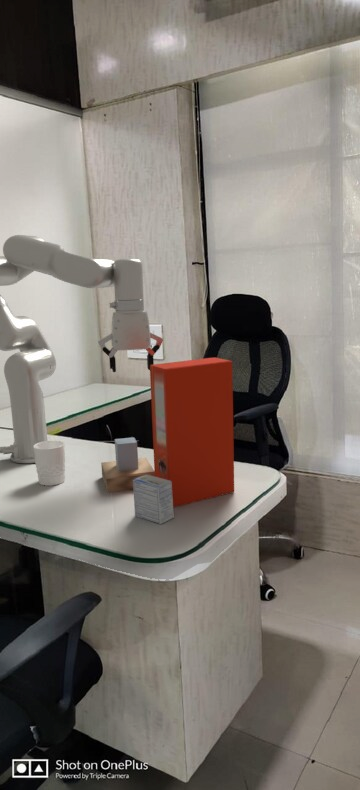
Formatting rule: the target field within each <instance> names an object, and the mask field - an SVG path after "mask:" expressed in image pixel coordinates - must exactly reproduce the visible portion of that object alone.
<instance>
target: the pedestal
mask: <svg viewBox="0 0 360 790" xmlns="http://www.w3.org/2000/svg"><path fill="white" fill-rule="evenodd" d="M100 465H101V477H102V480H103V481H102V482H103V483H104V485H105V489H106V492H107V493H114V492H122V491H123V492H124V491H129V490H130V491H131V490H133V480H134V479H136V478H138V477H141V476H144V475H150V476H154V477H155V471H154V467H152V465H151V463H150V462H149V460H148V458H147V457H141V458H138V468H139V469H134V470H125V471H119V470H118V468H117V466H116V460H115V461H113V460H112V461H104V462H103V461H102V462H101V463H100Z"/></svg>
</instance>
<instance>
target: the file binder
mask: <svg viewBox="0 0 360 790" xmlns="http://www.w3.org/2000/svg"><path fill="white" fill-rule="evenodd" d="M149 376H150V377H149V378H150V398H151V399H150V401H151V422H152V423H151V424H152V445H153V449H152V450H153V464H154V465H153V470H154V471H155V477H158V478H162V479H166V480H170V481H171V482H172V497H173V508H175V507H176V508H177V507H179V506H183V505H187V504H191V503H196V502H200V501H203V500H208V499H212V498H213V499H214V498H216V496H217V497H220V496H219V495H221V496H223V495H222V494H225V495H227V494H226V493H229V494H231V493H230V492H233V493H235V462H234V461H235V460H234V459H235V458H234V457H235V453H234V451H235V450H234V448H235V447H234V443H235V441H234V392H233V390H234V389H233V388H234V387H233V361H232V360H229V359H224V358H219V357H205V358H198V359H189V360H182V361H171V362H164V363H155V364H154V365H150V370H149Z"/></svg>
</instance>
